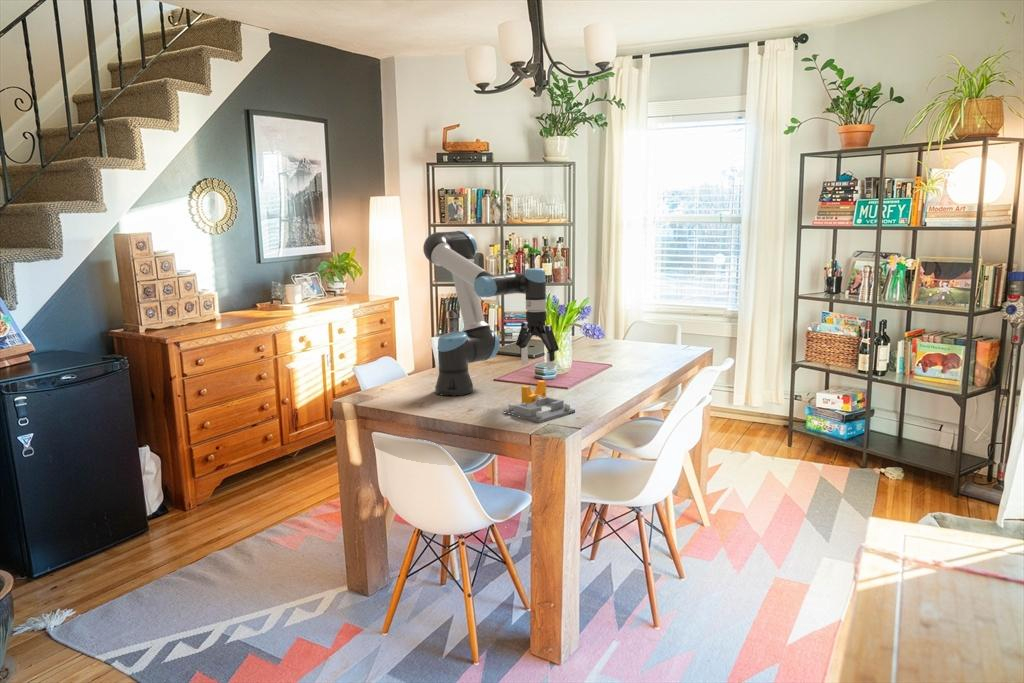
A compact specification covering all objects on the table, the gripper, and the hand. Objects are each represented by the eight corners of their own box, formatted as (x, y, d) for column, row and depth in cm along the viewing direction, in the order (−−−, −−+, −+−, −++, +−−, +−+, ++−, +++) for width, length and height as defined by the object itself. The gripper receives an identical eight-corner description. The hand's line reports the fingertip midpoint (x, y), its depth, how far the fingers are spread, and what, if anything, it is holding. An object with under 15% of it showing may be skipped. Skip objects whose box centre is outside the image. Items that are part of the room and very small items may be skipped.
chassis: (503, 412, 258) (503, 403, 257) (539, 403, 270) (539, 393, 269) (539, 423, 245) (538, 413, 244) (575, 412, 257) (575, 402, 256)
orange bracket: (531, 405, 268) (530, 388, 267) (521, 403, 271) (521, 386, 269) (549, 398, 277) (549, 381, 276) (540, 396, 280) (540, 380, 279)
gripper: (505, 309, 274) (507, 364, 277) (553, 314, 256) (554, 373, 259) (520, 307, 279) (521, 361, 282) (567, 312, 260) (568, 369, 264)
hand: (537, 367), depth 271 cm, fingers open, 13 cm apart
